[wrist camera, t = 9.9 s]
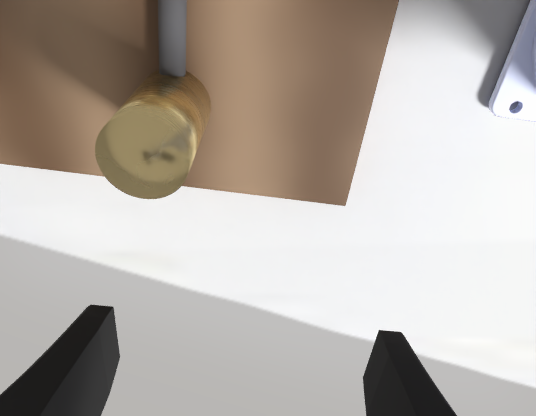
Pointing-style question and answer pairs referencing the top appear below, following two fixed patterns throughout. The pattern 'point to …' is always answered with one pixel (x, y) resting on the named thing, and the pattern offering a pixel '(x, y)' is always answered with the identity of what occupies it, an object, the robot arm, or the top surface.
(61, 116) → the walnut lane shelf
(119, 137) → the cream block with stem
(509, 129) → the top surface
